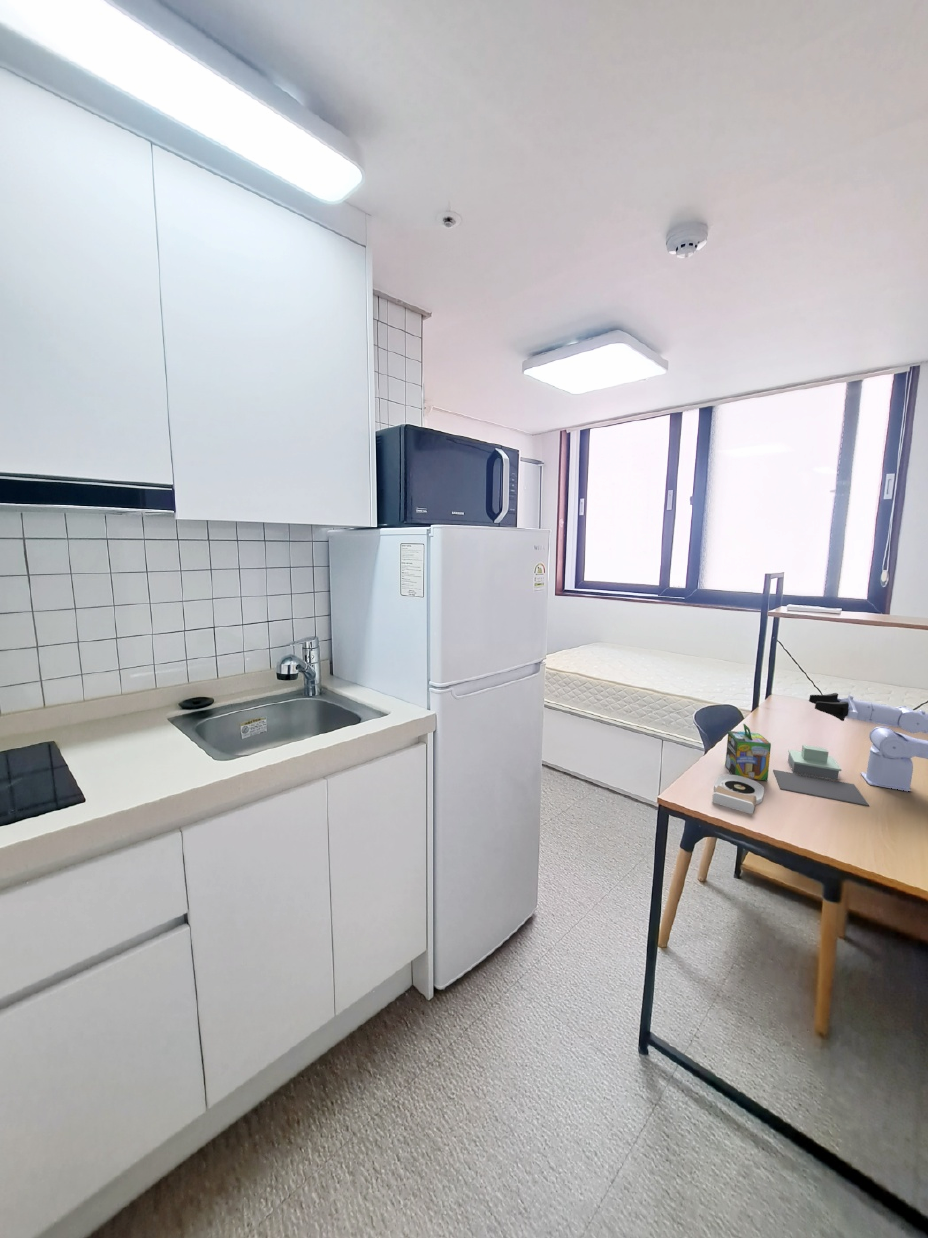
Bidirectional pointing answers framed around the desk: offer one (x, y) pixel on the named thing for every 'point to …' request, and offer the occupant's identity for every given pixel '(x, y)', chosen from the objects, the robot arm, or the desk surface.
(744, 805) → the record player
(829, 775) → the chalk tray box
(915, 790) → the desk surface
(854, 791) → the rubber mat
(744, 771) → the chalk box
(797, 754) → the lid
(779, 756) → the desk surface
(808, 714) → the desk surface
